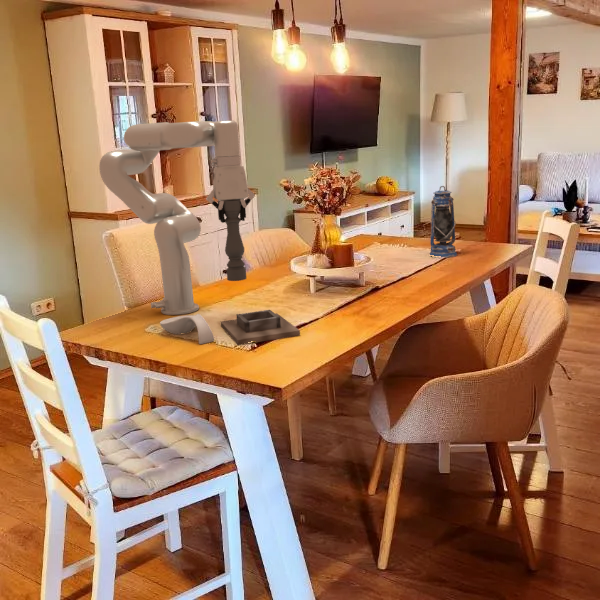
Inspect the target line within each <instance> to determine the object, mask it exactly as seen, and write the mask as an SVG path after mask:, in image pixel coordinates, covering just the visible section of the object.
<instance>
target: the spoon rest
mask: <svg viewBox="0 0 600 600" xmlns="http://www.w3.org/2000/svg"><path fill="white" fill-rule="evenodd" d="M159 325H160V326H161V328H162V329H163V330H165V331H166V332H168V333H170V334H172V333H173V335H182V334H181V333H185V334H188V333H187V332H189V333H190V331H191V332H192V331H193V330H194V329H195V328H196V330H197V336H198V344H199V345H203V344H207V343H208V344H209V343H212V342H214V341H215V336H214V333H213V331H212V329H211V327H210V325H209V324H208V322H207V321H206V319H205V318H204V316H202V314H200V313H196V314H194V315H191V314H190V315H189V314H185V315H177V316H174V317H170V318H166V319H163V320H161V321H160V322H159Z"/></svg>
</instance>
